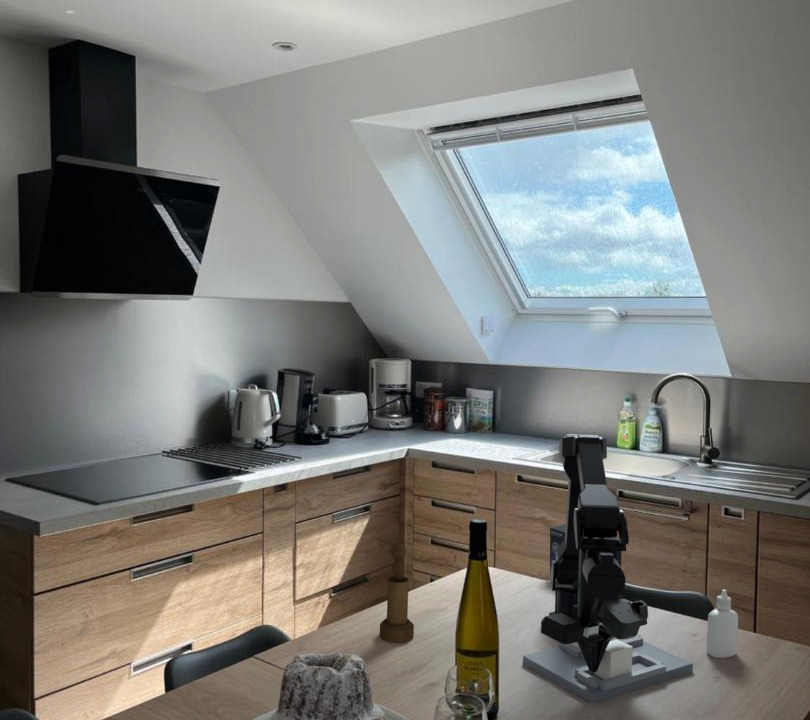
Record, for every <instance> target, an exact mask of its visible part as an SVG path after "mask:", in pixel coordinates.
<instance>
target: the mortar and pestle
mask: <svg viewBox="0 0 810 720" xmlns="http://www.w3.org/2000/svg"><path fill="white" fill-rule="evenodd" d="M390 554H391V557H392V558H393V560H394V562H393V563H394V564H393V565H392V573H393V575H391V576H388V578H387V599H386V601H387V602H386V604H387V605H386V607H387V608H386V618H384V620H382V621H381V622H380V625H379V637H380V638H381V640H383V641H385V642H389V643H395V644H397V643H398V644H400V643H408V642H410V641H412V640H413V639H414V636H415V635H414V634H415V632H414V631H415V630H414V629H415V626H414V623H413V621H412V622H411V620H410V619H409V618H408V610H409V609H408V607H409V605H408V604H409V584H410V583H409V581H410V579H409V578H408V577H406V576H403V575H404V571H405V566H404V565H403V560H404V558H405V556H406V554H407V547H406V545H405V544H404V543H403V542H400V541H399V542H397V541H396V542H394V543H393V544H392V545H391V547H390Z"/></svg>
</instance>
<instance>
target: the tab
mask: <svg viewBox="0 0 810 720" xmlns="http://www.w3.org/2000/svg"><path fill="white" fill-rule="evenodd" d="M632 650H633V647H632V646H630V645H628V644H626V643H623V642H621V641H619V640H613V641H610V642H609V644H608V646H607V648H606V650H605V653H604V655H603V658H602V660H601V663H600V665H599V668H598V670H597V672H595V675H597V676H599V677H601V678H603V679H604V680H607V679H610V678H614V677H617V676H620V675H624V674H627V673H631V672H632Z"/></svg>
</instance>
